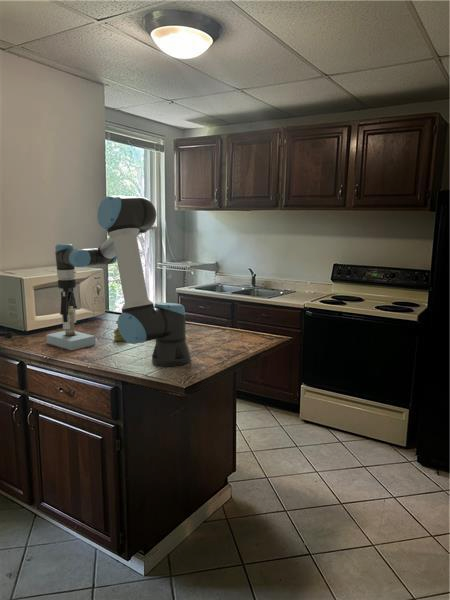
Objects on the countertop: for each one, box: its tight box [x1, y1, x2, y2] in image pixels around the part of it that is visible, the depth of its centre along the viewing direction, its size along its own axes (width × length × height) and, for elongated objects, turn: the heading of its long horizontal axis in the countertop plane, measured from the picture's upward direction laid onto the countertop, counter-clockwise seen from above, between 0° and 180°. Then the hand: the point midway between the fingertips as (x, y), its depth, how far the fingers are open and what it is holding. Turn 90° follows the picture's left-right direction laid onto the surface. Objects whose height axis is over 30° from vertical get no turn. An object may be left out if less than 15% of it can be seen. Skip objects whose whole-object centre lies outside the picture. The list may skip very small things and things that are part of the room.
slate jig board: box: [46, 330, 96, 351], centre depth 202 cm, size 20×12×4 cm, turn 51°
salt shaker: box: [113, 319, 126, 343], centre depth 207 cm, size 7×7×10 cm
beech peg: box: [64, 306, 76, 337], centre depth 200 cm, size 4×4×16 cm
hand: (69, 325), depth 200 cm, fingers open, 13 cm apart
